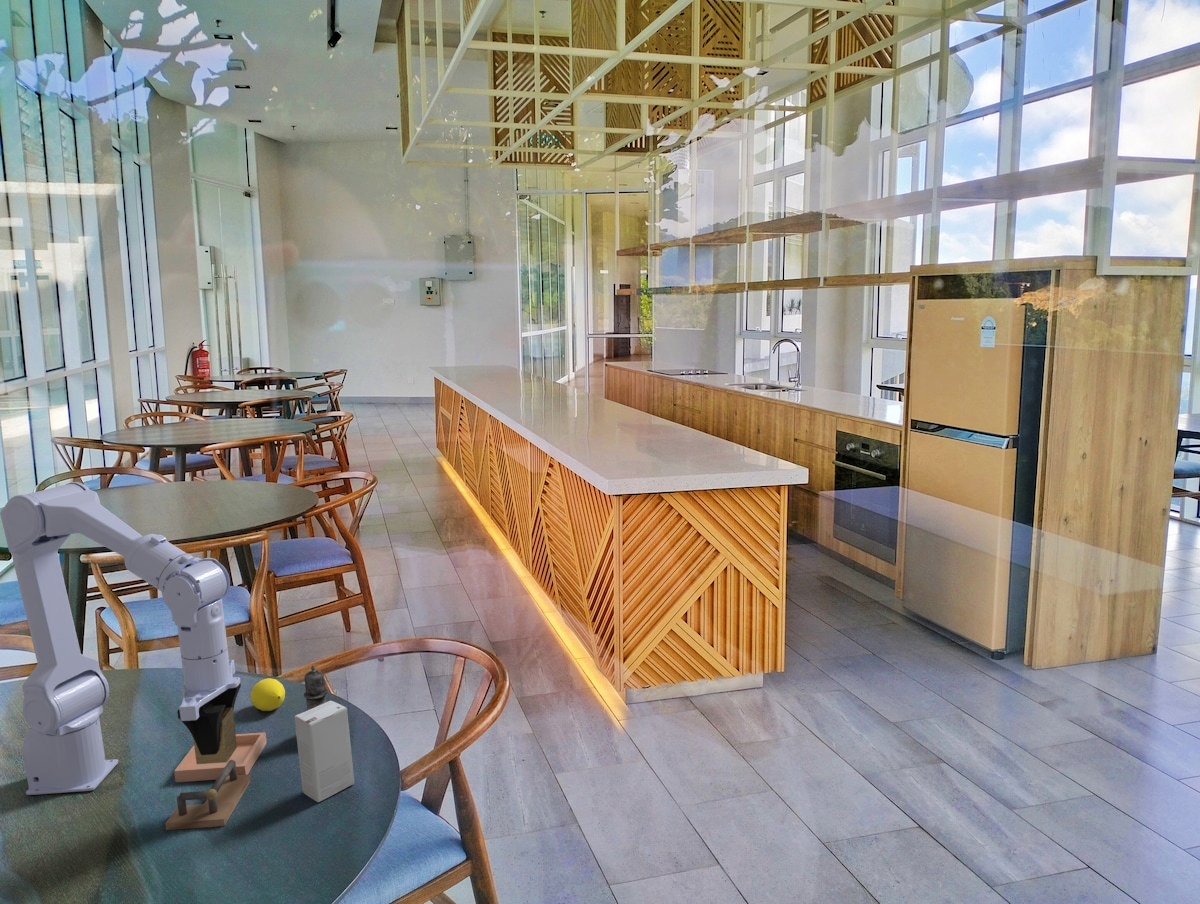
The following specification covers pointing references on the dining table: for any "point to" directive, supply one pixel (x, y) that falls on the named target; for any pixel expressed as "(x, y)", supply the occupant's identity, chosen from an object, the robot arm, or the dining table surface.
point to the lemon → (267, 694)
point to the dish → (243, 756)
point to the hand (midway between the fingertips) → (215, 744)
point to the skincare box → (324, 750)
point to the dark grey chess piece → (314, 689)
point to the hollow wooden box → (221, 741)
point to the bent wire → (210, 802)
